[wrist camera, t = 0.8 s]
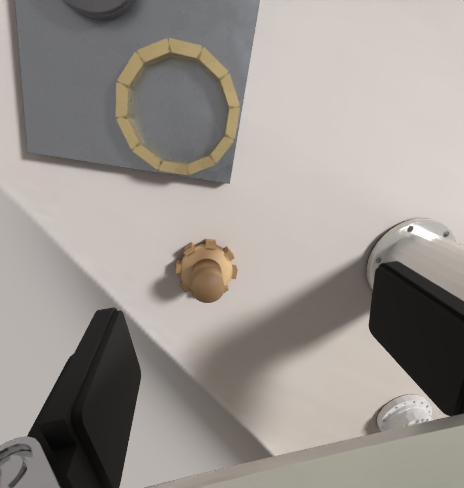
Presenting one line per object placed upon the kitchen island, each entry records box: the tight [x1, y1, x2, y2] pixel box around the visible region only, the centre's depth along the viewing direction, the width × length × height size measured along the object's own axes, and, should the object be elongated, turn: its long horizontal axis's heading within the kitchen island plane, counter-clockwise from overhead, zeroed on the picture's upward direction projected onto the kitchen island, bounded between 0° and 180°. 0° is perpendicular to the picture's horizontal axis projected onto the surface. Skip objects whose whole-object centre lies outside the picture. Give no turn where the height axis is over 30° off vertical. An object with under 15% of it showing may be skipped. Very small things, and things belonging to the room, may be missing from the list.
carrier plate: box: [15, 0, 260, 184], centre depth 24 cm, size 20×22×4 cm
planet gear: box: [175, 239, 237, 303], centre depth 33 cm, size 8×8×6 cm
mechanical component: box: [377, 395, 433, 432], centre depth 49 cm, size 10×4×10 cm
